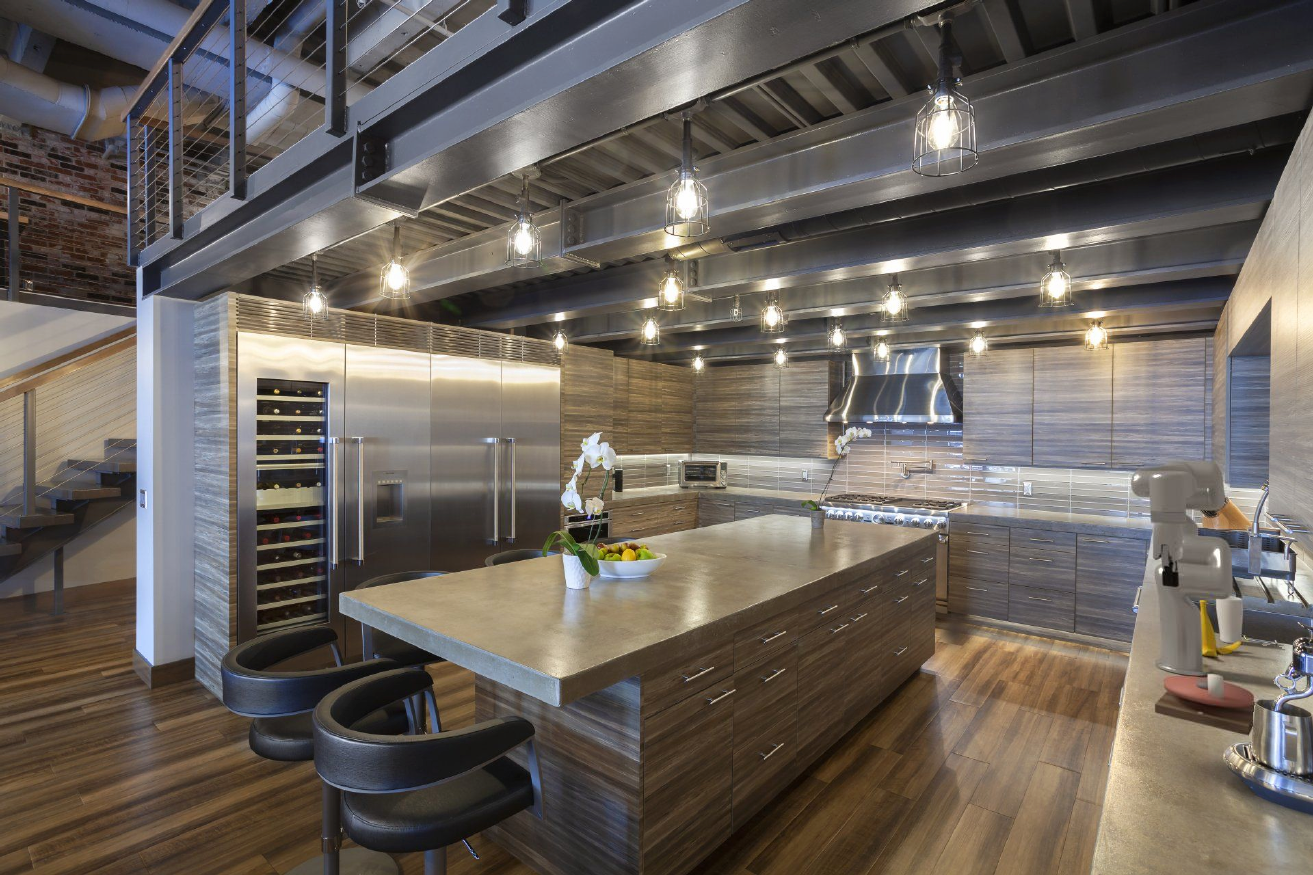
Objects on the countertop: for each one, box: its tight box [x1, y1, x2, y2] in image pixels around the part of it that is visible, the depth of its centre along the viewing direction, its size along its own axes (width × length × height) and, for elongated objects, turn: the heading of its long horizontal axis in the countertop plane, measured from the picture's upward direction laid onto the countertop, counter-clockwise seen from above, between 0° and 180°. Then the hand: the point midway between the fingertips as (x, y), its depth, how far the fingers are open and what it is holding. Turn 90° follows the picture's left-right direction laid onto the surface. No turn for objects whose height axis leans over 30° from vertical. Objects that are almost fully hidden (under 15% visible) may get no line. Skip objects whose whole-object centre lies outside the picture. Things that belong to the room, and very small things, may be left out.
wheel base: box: [1154, 690, 1256, 736], centre depth 157 cm, size 20×17×4 cm
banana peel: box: [1199, 599, 1242, 658], centre depth 201 cm, size 16×19×17 cm
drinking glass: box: [1215, 595, 1244, 645], centre depth 212 cm, size 7×7×15 cm
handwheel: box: [1163, 673, 1255, 707], centre depth 157 cm, size 17×17×6 cm
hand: (1170, 585), depth 169 cm, fingers closed
